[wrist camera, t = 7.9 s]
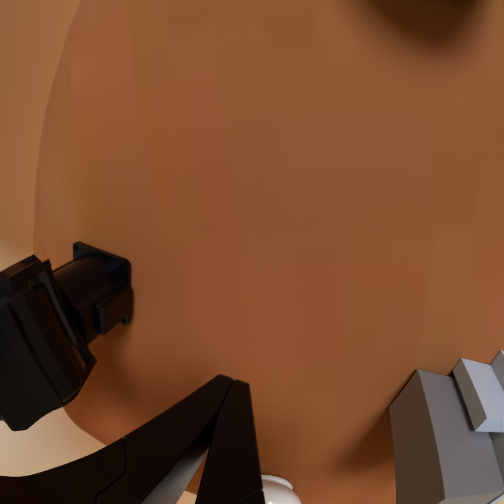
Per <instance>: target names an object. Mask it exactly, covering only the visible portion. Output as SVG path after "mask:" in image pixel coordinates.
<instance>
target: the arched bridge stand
mask: <svg viewBox="0 0 504 504" xmlns="http://www.w3.org/2000/svg"><path fill="white" fill-rule="evenodd" d="M453 373H454V375H455V378H456V380H457V383H458V385H459V388H460V390H461V393H462V396H463V398H464V401H465V404H466V407H467V409H468V412H469V415H470V418H471V421H472V424H473V427H474V430H475V431H479V432H488V433H489V436H490V439H491V441H492V446H493V449H494V452H495V455H496V459H497V462H498V466H499V469H500V473H501V477H502V481H503V485H504V351H502V350H501V351H500V352H499V354H498V355H497V356H496V358H495V359H494V361H493V362H492V364H491V365H487V364H483V363H479V362H475V361H471V360H467V359H463V358H461V359H460V361H459V362H458V364H457V365H456V366H455V368H454V369H453ZM502 499H504V491H503V492H502V493H501V494H499V495H498V496H497V497H495V498H494V499H492V500H491V501H489V502H488V503H487V504H497V503H498V502H499V501H501V500H502Z"/></svg>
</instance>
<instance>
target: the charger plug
mask: <svg viewBox="0 0 504 504" xmlns="http://www.w3.org/2000/svg"><path fill="white" fill-rule="evenodd" d="M389 411H390V419H391V428H392V438H393V449H394V461H395V477H396V504H487V503H488V502H489V501H491V500H492V499H494V498H495V497H497V496H498V495H499V494H501V493H502V492H503V491H504V485H503V481H502V477H501V473H500V469H499V466H498V462H497V459H496V455H495V452H494V449H493V446H492V441H491V439H490V436H489V433H488V432H479V431H475V430H474V427H473V424H472V421H471V418H470V415H469V412H468V409H467V407H466V404H465V401H464V398H463V396H462V393H461V390H460V388H459V385H458V383H457V380H456V378H453V377H449V376H444V375H440V374H435V373H431V372H427V371H423V370H417V371H416V373H415V374H414V375H413V377H412V378H411V380H410V381H409V382H408V384H407V385H406V386H405V388H404V389H403V390H402V392H401V393H400V394H399V396H398V397H397V398H396V399H395V401H394V402H393V403H392V404H391V406H390V407H389Z"/></svg>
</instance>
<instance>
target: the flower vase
mask: <svg viewBox="0 0 504 504" xmlns="http://www.w3.org/2000/svg"><path fill="white" fill-rule="evenodd" d="M261 476H262V483H263V490H262V491H264V496H265V503H266V504H301V500H300V499H299V497H298V495H297V494H296V493H295V492H294V491H293V486H292V484H291V483H290V482H289V481H287V480H285V479H283V478H280V477H277V476H273V475H261Z"/></svg>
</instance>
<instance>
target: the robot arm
mask: <svg viewBox="0 0 504 504" xmlns="http://www.w3.org/2000/svg"><path fill="white" fill-rule="evenodd" d="M123 263H124V264H125V266H124V265H123ZM130 312H131V287H130V262H129V261H128V260H127V259H125V258H123V257H120V256H117V255H114V254H111V253H109V252H106V251H103V250H100V249H98V248H95V247H92V246H90V245H87V244H84V243H82V242H75V243H74V244H73V260H71V261H70V262H68V263H66V264H64V265H62V266H60V267H59V268H57V269H55V270H53V271H52V269H51V263H50V260H49V259H47V260H45V261H42V262H41V260H39V259H38V258H37V257H36V256H35V255H32V256H29V257H27V258H25V259H23V260H21V261H19V262H18V263H16V264H14V265H12V266H10V267H8V268H6V269H5V270H2V271H1V272H0V421H5V423H6V424H7V425H8V427H9V428H10V429H11V430H12V431H21V430H27V429H28V428H29V427H30V426H32V425H33V424H34V423H35V422H37V421H38V420H39V419H40V418H42V417H43V416H45V415H46V414H48V413H50V412H52V411H53V410H56V409H58V408H61V407H63V406H65V405H67V404H68V403H70V402H71V401H72V400H73V399H74V398H75V397H76V396H77V395H78V393H79V392H80V390H81V388H82V387H83V385H84V383H85V381H86V379H87V378H88V376H89V374H90V372H91V371H92V369H93V367H94V365H95V364H96V362H97V360H96V359H95V357H94V355H92V354H91V352H90V350H89V348H88V345H89V344H90V343H91V342H92V341H93V340H94V339H95V338H96V337H98V336H99V335H100V334H101V335H105V334H106V333H108V332H109V331H110V330H111V329H112V328H113V327H114V326H115V325H116V324H118V323H121V324H123V325H128V324H129V323H130V321H131V314H130ZM208 450H209V451H208ZM207 452H208V455H207V459H206V463H205V467H204V471H203V474H202V478H201V482H200V486H199V490H198V494H197V498H196V501H195V504H266V503H265V496H264V491H262V490H263V483H262V476H261V469H260V462H259V454H258V447H257V439H256V432H255V424H254V416H253V408H252V400H251V392H250V385H249V384H248V383H247V382H243V381H240V380H237V379H236V380H233V378H231V377H228V376H225V375H222V374H219V375H217V376H216V377H214V378H213V379H211V380H210V381H209V382H207V383H206V384H204V385H203V386H201V387H200V388H199V389H197V390H196V391H194V392H193V393H191V394H190V395H188V396H187V397H185V398H184V399H182V400H181V401H179V402H178V403H176V404H175V405H173V406H172V407H170V408H169V409H167V410H166V411H164V412H163V413H161V414H159V415H158V416H156V417H155V418H153V419H152V420H150V421H148V422H147V423H145V424H144V425H142V426H140V427H139V428H137V429H135V430H134V431H132V432H131V433H129V434H127V435H126V436H124V438H120V439H119V440H117V441H115V442H113V443H112V444H110V445H108V446H106V447H104V448H102V449H100V450H98V451H97V452H95V453H92V454H90V455H88V456H85V457H83V458H81V459H78V460H75V461H73V462H70V463H67V464H64V465H62V466H58V467H55V468H52V469H50V470H46V471H43V472H40V473H36V474H33V475H29V476H22V477H9V476H0V504H176V503H177V501H178V500H179V498H180V496H181V495H182V493H183V492H184V490H185V489H186V487H187V485H188V484H189V482H190V480H191V479H192V477H193V476H194V474H195V472H196V471H197V469H198V467H199V466H200V464H201V462H202V461H203V459H204V457H205V456H206V454H207Z"/></svg>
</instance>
